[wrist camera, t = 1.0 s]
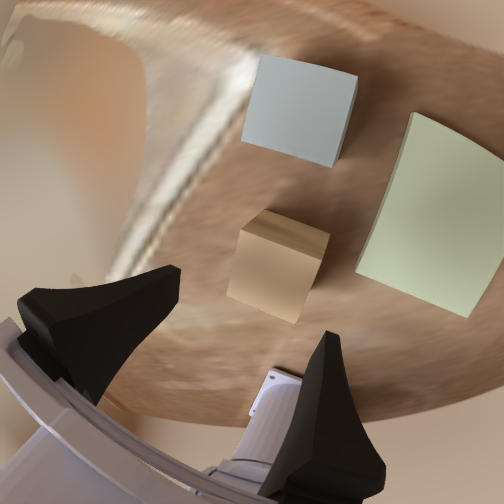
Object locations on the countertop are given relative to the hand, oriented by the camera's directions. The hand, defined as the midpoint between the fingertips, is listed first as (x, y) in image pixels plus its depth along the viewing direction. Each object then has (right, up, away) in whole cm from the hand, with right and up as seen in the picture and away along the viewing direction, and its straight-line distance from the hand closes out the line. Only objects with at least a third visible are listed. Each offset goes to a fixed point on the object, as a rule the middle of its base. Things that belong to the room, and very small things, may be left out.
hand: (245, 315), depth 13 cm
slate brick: (+4, +11, +2) cm, 12 cm away
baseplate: (+12, +5, +1) cm, 13 cm away
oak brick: (+3, +3, +6) cm, 8 cm away
